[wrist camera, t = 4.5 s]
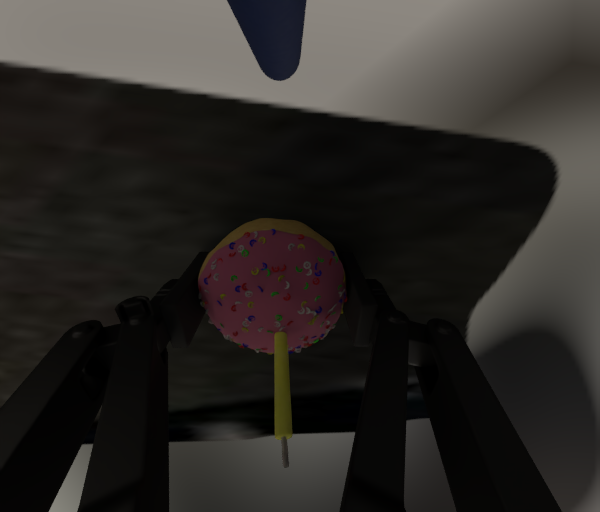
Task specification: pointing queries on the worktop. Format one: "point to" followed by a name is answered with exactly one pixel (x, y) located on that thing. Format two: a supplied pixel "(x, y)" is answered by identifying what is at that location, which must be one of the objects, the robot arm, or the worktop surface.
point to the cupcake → (274, 296)
